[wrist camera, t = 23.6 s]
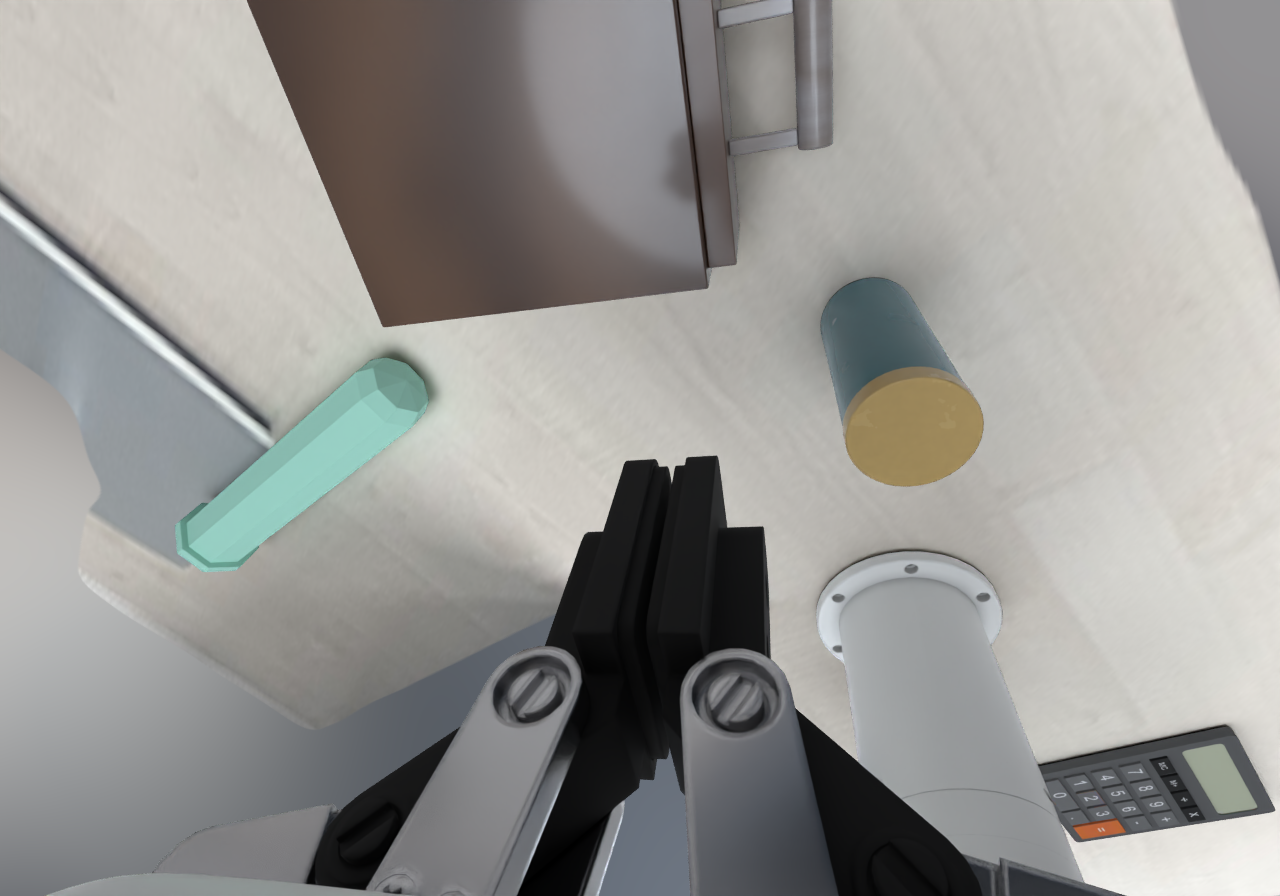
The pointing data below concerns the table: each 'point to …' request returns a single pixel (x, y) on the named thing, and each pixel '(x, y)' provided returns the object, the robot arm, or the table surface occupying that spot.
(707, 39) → the drawer
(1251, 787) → the calculator
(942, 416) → the tea tin
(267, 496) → the container
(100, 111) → the table surface
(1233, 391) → the table surface
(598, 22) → the cabinet
